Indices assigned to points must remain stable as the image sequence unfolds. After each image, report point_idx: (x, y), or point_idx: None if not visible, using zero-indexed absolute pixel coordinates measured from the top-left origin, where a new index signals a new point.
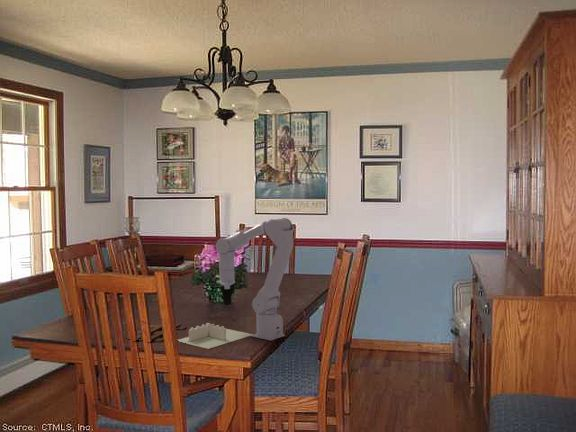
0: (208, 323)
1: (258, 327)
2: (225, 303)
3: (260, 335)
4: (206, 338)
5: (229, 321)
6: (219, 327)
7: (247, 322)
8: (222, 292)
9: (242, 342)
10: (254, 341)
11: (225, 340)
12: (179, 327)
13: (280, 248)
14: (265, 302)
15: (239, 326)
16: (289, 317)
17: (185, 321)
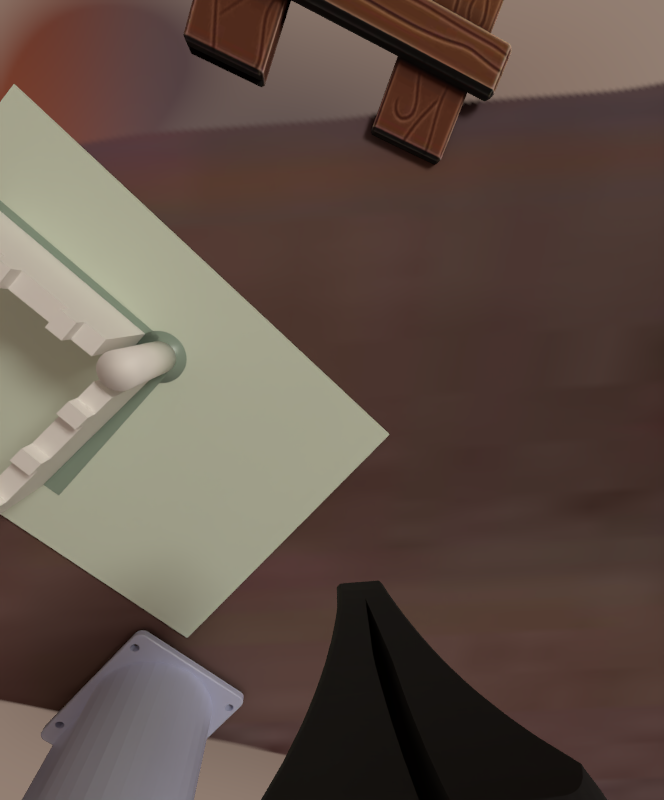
0: (125, 371)
1: (79, 732)
2: (337, 605)
3: (94, 692)
4: None
5: (566, 476)
6: (21, 472)
7: (511, 585)
8: (290, 752)
9: (7, 582)
10: (35, 645)
11: None
12: (426, 91)
13: None
14: None
15: (417, 544)
16: None
17: (656, 137)
